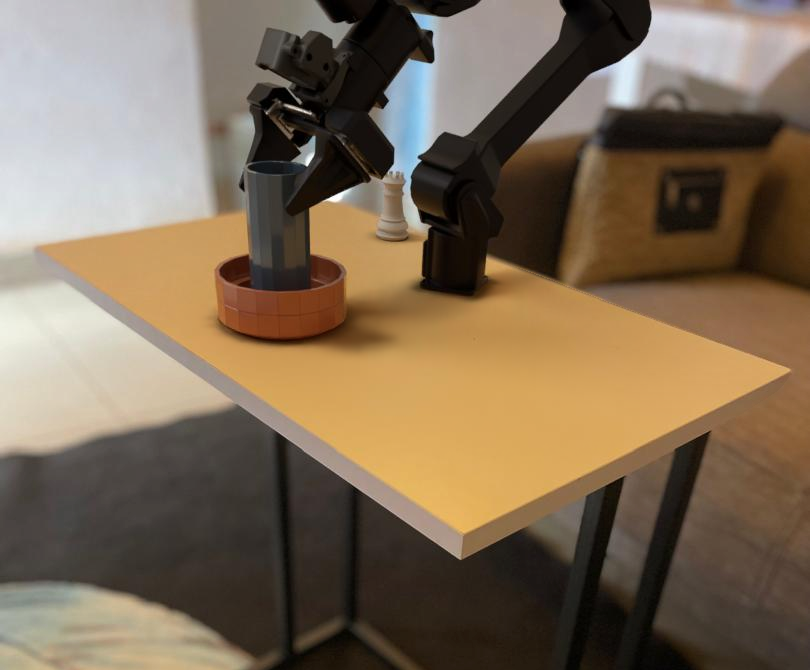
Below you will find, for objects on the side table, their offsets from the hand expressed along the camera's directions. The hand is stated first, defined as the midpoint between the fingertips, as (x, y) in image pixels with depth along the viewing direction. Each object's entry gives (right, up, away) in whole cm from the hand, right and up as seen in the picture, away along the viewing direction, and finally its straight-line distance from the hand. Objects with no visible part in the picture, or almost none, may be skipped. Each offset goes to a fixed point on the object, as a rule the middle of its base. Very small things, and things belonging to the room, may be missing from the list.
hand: (264, 201), depth 79 cm
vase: (+1, -9, +7) cm, 11 cm away
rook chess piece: (+12, +9, +33) cm, 36 cm away
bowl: (+1, -9, +8) cm, 12 cm away
